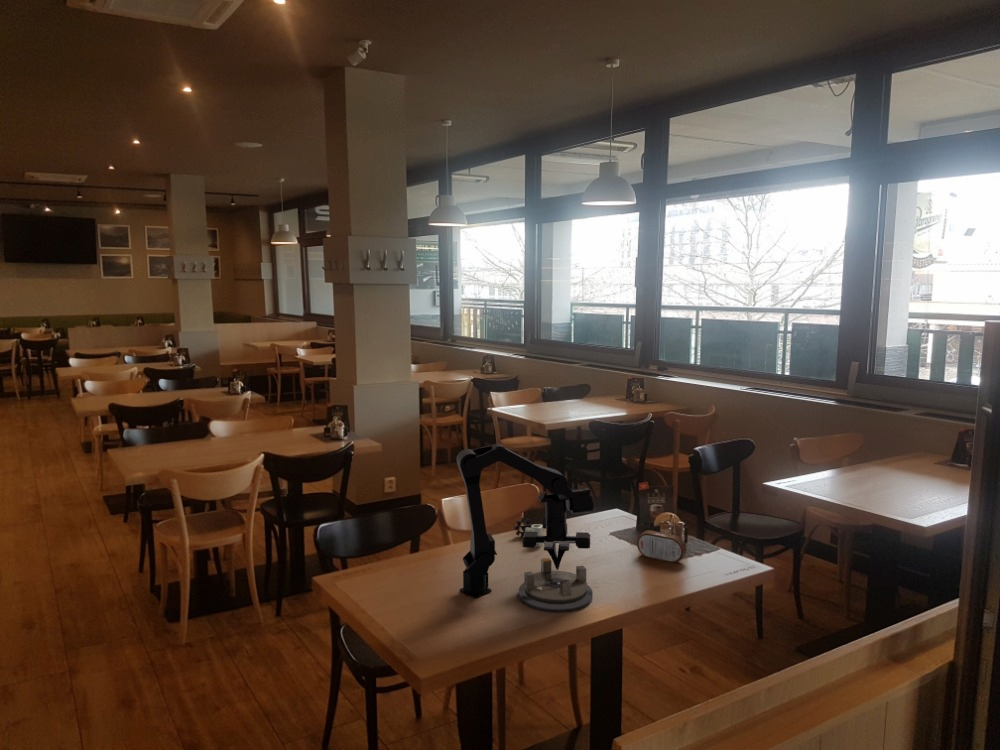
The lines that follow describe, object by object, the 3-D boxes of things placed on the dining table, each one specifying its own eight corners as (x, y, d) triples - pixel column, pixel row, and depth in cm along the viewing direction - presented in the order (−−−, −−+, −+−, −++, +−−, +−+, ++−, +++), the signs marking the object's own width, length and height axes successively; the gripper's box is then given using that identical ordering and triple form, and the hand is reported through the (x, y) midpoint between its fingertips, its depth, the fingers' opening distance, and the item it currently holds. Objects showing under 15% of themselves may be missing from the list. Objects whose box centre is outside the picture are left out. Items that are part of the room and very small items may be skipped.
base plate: (558, 619, 175) (558, 611, 175) (503, 595, 189) (503, 587, 189) (607, 596, 188) (607, 588, 188) (552, 574, 203) (552, 567, 203)
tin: (686, 562, 212) (686, 536, 211) (682, 566, 209) (683, 539, 208) (639, 553, 220) (639, 527, 219) (635, 556, 217) (636, 530, 216)
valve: (548, 545, 227) (530, 534, 237) (548, 526, 226) (530, 515, 237) (530, 549, 224) (513, 537, 235) (531, 529, 223) (513, 518, 234)
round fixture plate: (597, 599, 183) (597, 578, 182) (536, 607, 178) (536, 585, 178) (572, 574, 199) (573, 555, 198) (516, 581, 194) (516, 561, 194)
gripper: (590, 507, 200) (591, 559, 202) (525, 506, 203) (527, 558, 205) (589, 519, 189) (590, 574, 191) (521, 518, 192) (523, 572, 194)
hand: (557, 569), depth 196 cm, fingers closed
